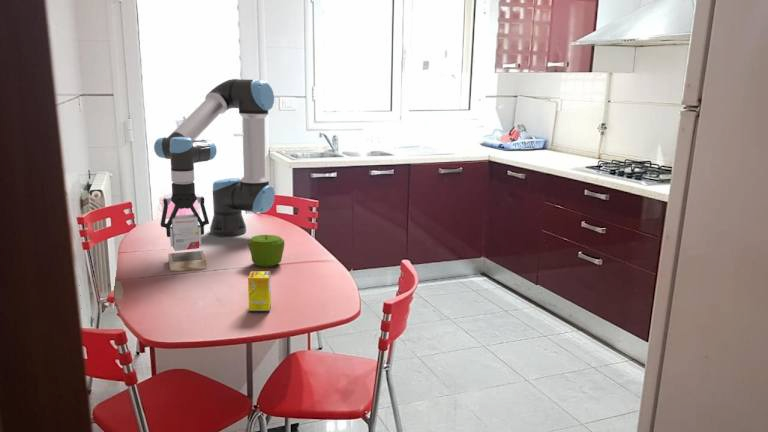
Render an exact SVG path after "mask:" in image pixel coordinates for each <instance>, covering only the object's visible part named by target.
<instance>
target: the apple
mask: <svg viewBox="0 0 768 432" xmlns="http://www.w3.org/2000/svg"><path fill="white" fill-rule="evenodd" d="M247 245H248V249H249V251H250V255H251V256H250V257H251V262H252V263H253V264H254V265H256V266H258V267H260V268H272V267H275V266H276V265H278V264H280V263H281V262H282V258H283V254H284V249H285V240H284V238H282V237H281V236H278V235H276V234H275V235H273V234H258V235H255V236H252V237H251V238H250V239H249V240H247Z"/></svg>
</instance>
